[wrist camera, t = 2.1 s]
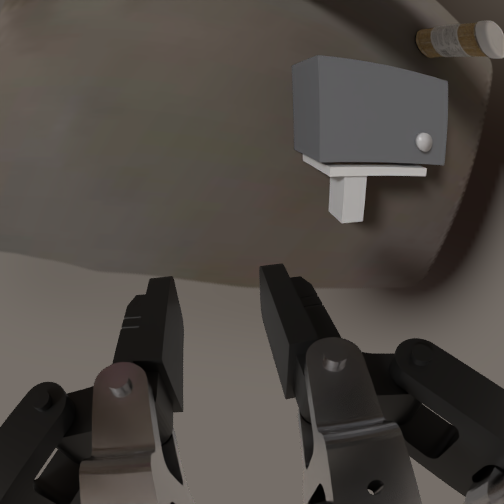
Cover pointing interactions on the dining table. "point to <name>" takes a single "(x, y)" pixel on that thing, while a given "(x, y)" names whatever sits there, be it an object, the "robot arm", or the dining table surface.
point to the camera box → (368, 112)
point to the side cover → (357, 183)
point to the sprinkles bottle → (462, 40)
